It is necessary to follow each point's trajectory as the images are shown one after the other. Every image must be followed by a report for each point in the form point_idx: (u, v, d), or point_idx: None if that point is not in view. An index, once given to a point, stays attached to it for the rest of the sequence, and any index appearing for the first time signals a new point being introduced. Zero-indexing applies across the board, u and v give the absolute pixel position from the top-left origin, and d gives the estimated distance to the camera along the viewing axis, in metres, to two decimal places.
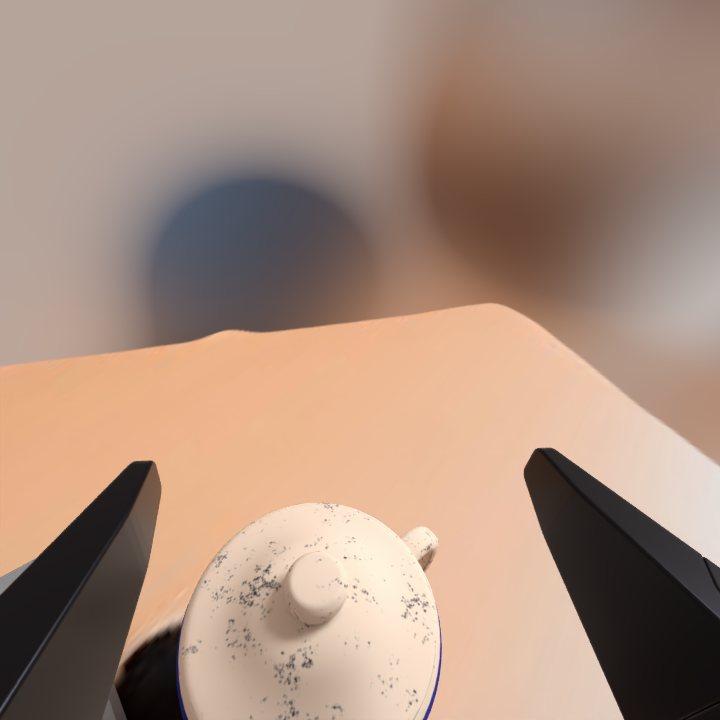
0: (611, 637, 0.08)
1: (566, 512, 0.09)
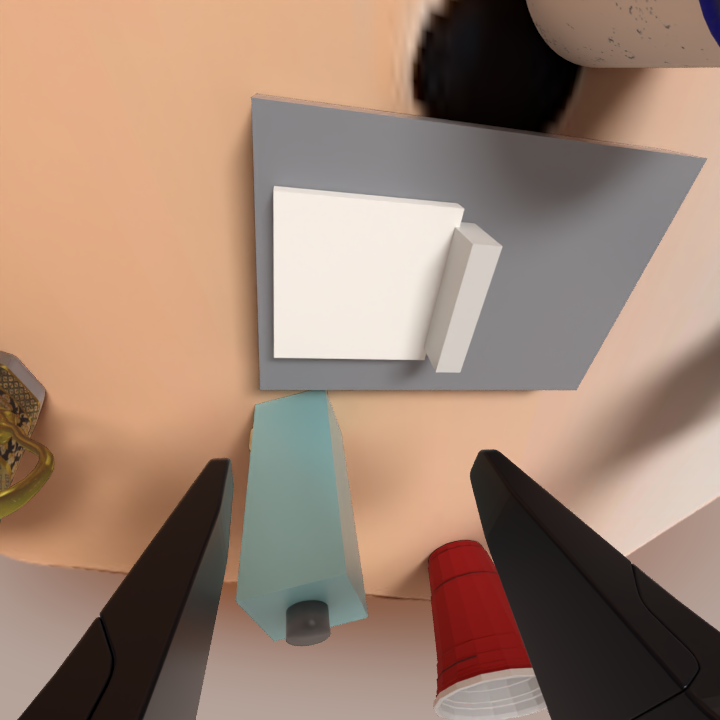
0: (544, 647, 0.08)
1: (504, 516, 0.09)
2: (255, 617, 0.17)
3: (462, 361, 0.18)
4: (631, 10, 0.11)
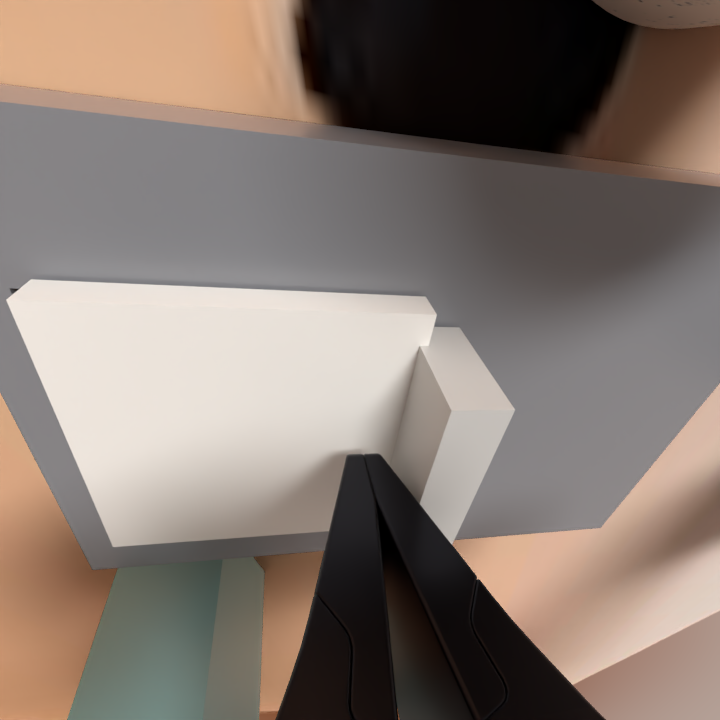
0: (398, 667, 0.07)
1: None
2: None
3: None
4: None
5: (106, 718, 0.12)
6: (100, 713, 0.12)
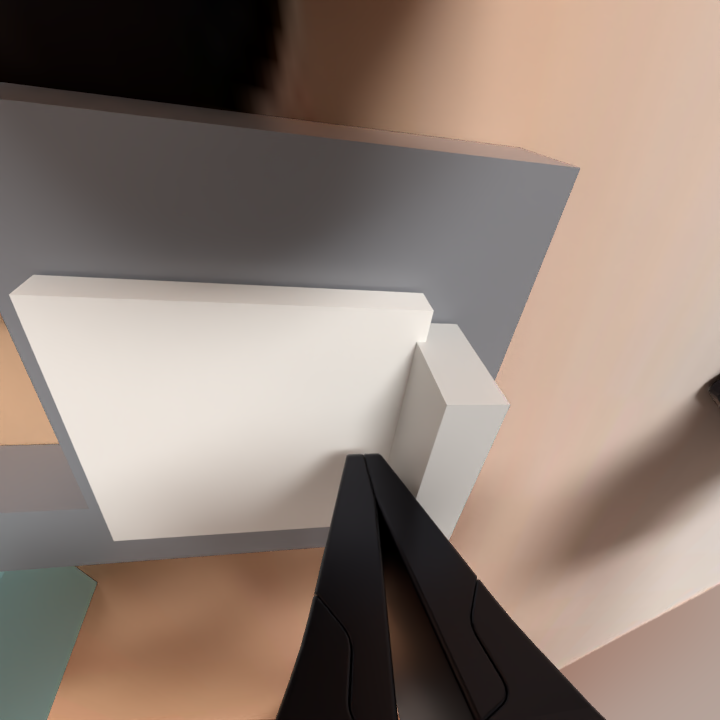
0: (398, 667, 0.07)
1: None
2: None
3: None
4: None
5: None
6: None
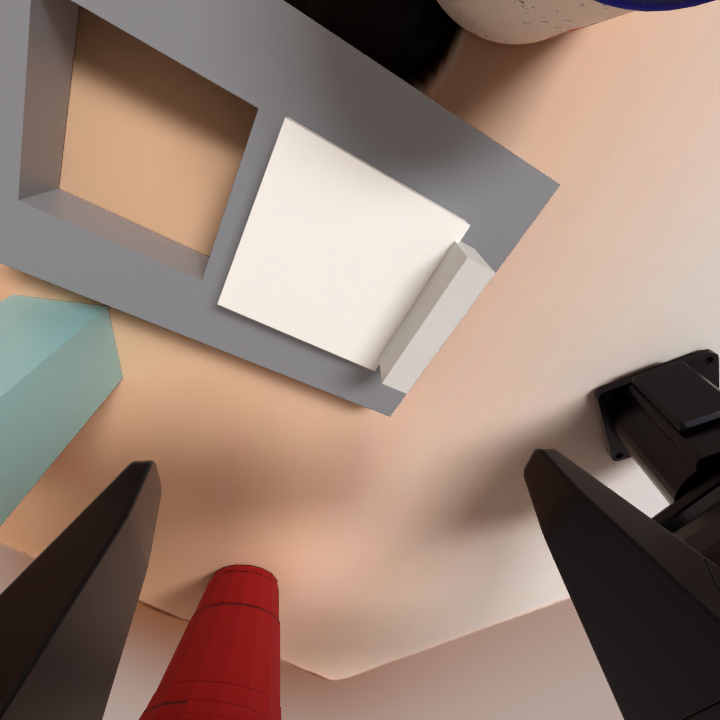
0: (611, 637, 0.08)
1: (566, 512, 0.09)
2: None
3: (412, 382, 0.17)
4: None
5: None
6: None
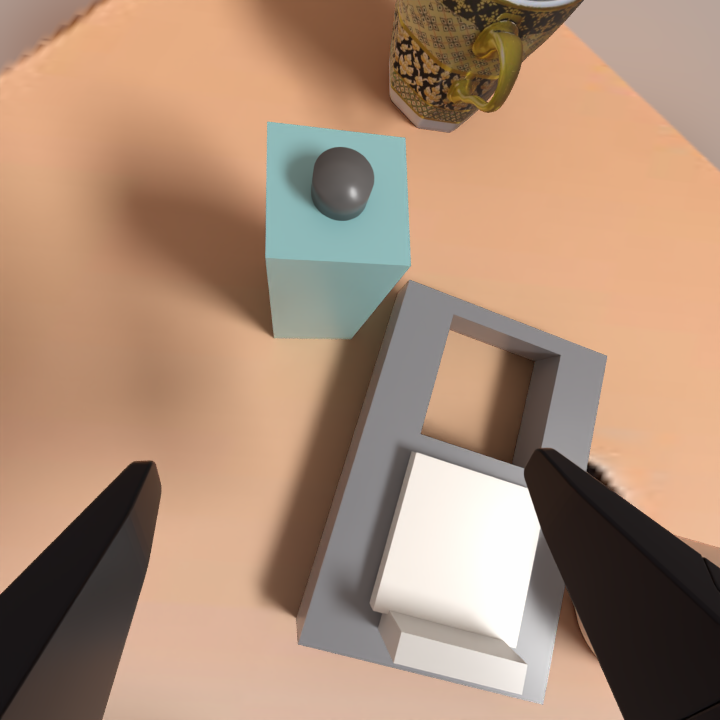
0: (611, 637, 0.08)
1: (566, 512, 0.09)
2: (354, 136, 0.13)
3: (407, 664, 0.16)
4: None
5: None
6: None
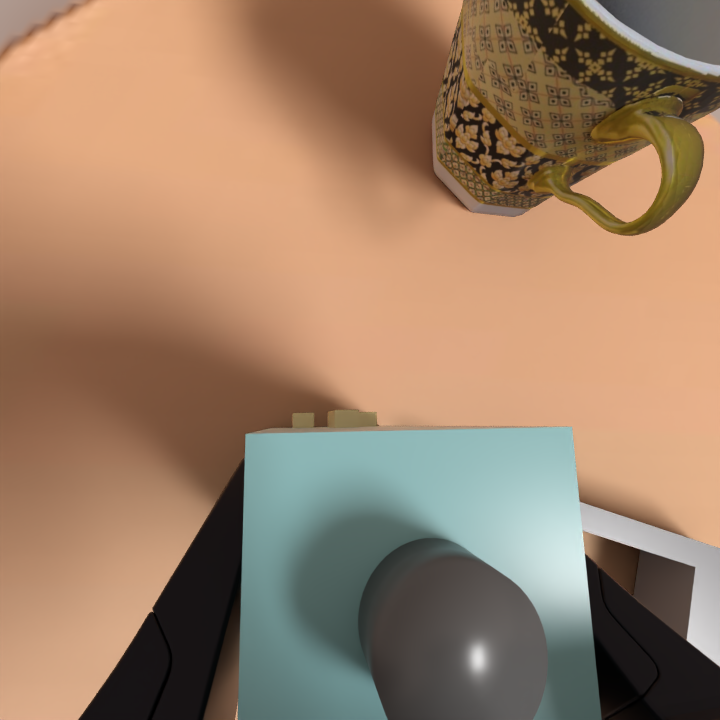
0: None
1: None
2: (460, 441, 0.05)
3: None
4: None
5: None
6: None
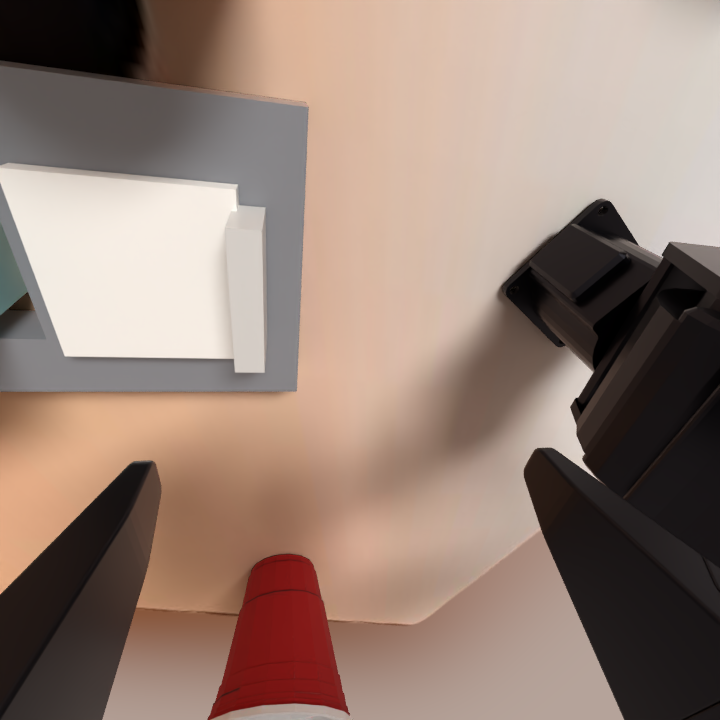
0: (611, 637, 0.08)
1: (566, 512, 0.09)
2: None
3: (262, 361, 0.16)
4: None
5: None
6: None
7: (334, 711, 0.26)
